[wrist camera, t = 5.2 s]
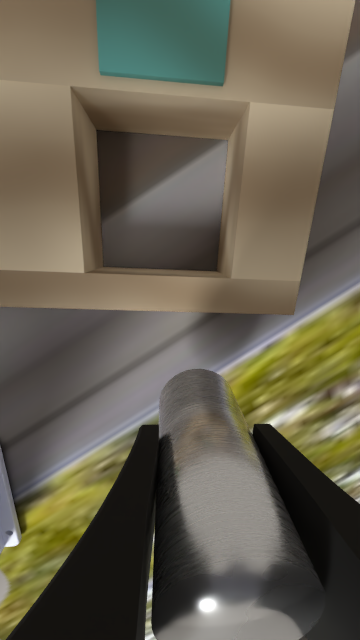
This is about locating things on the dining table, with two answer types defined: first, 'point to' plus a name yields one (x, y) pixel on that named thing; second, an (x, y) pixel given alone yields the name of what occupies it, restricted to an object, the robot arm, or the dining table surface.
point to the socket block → (164, 119)
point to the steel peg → (223, 527)
